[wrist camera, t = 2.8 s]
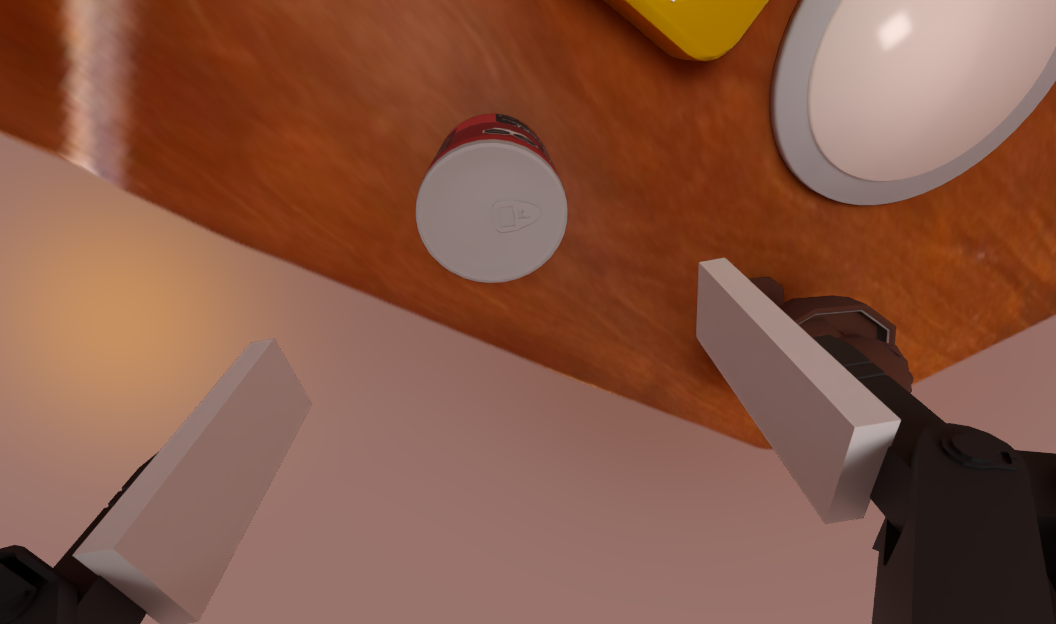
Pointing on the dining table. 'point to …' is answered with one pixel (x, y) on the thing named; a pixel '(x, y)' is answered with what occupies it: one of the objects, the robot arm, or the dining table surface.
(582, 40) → the dining table surface
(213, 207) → the dining table surface
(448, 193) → the canned food
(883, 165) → the dish
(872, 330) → the ice cream bowl
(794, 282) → the dining table surface
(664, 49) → the element tile
